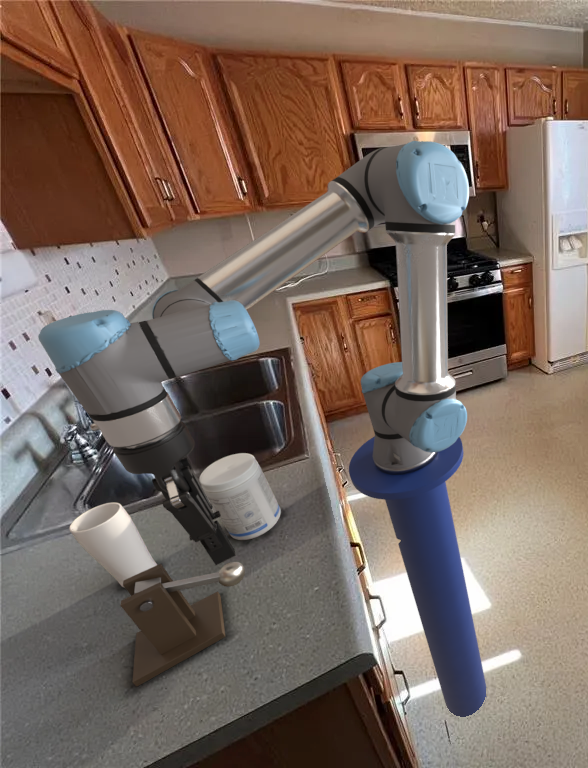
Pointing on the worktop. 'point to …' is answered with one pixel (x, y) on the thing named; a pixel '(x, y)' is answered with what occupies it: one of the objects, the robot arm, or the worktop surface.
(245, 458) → the supplement tub
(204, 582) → the tap lever
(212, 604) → the bracket
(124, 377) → the robot arm
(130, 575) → the white tapered cylinder
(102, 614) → the worktop surface
